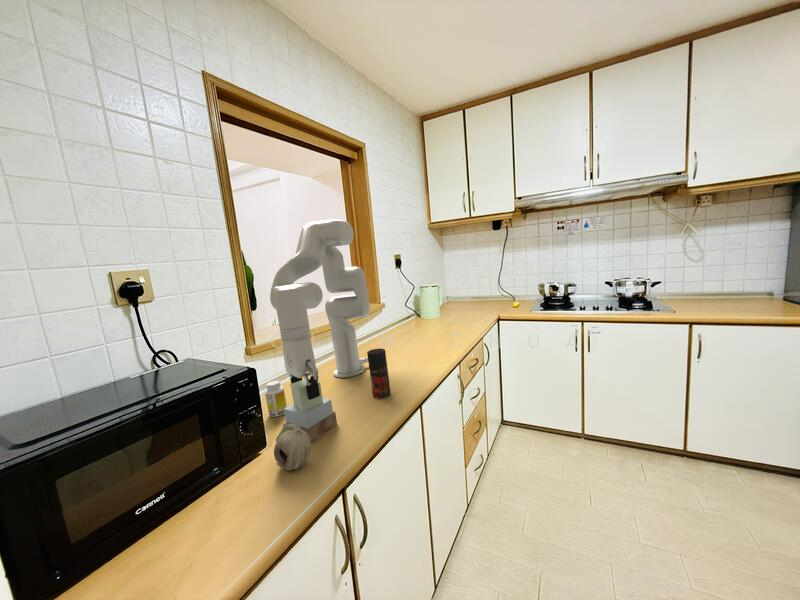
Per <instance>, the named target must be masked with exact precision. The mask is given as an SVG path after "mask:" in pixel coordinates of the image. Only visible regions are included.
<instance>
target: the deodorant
mask: <svg viewBox="0 0 800 600" xmlns="http://www.w3.org/2000/svg"><path fill="white" fill-rule="evenodd" d="M386 353H387V352H386V349H384V348H373V349H370V350H368V351H367V352H366V354H367V357H368V362H367V363H368V368H369V375H370V383H371V384H370V385H371V391H372V392H371V393H372V397H373V398H374V399H376V398H377V400H378V399H381V398H382V399H386V398H388V397H390V396H391V395H390V394H391V392H392V391H391V386H390V385H391V384H390V379H389V378H390V376H389V370H388V369H389V368H388V361H387V354H386ZM389 395H390V396H389ZM385 397H386V398H385Z"/></svg>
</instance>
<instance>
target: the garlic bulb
mask: <svg viewBox="0 0 800 600" xmlns="http://www.w3.org/2000/svg"><path fill="white" fill-rule="evenodd" d="M311 449H312V443H311V439H310V437H309V435H308V434H307V433H306V432H305V431H304V430H302V429H301V428H300V426H298V425H297V424H288V425H285V426H284V427H283V426H282V428H281V429H280V431H279V434H278V435H277V437H276V438H275V445H274V449H273V456H274V460H275V461H276V465H277V466H278V467H280V469H281V468H282V469H284V470H286V471H287V472H288V471H289V472H290V471H292V470H297V469H299V468H301V467H303V466H304V465H305V464H306V463H307V461H308V459H309V456H310V454H311Z"/></svg>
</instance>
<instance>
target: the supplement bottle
mask: <svg viewBox="0 0 800 600" xmlns="http://www.w3.org/2000/svg"><path fill="white" fill-rule="evenodd" d="M265 386H266V390H265V391H264V396H265V401H266V405H267V411H268V415H269V416H270V417H272V418H277V417H280V416H283V415H285V414H284V408H286V407H288V405H287V399H286V394H285V390H284V389H285V388H284V386H282V385H281V382H280V381H279V380H272V381H269V382H268V383H266V385H265Z"/></svg>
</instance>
